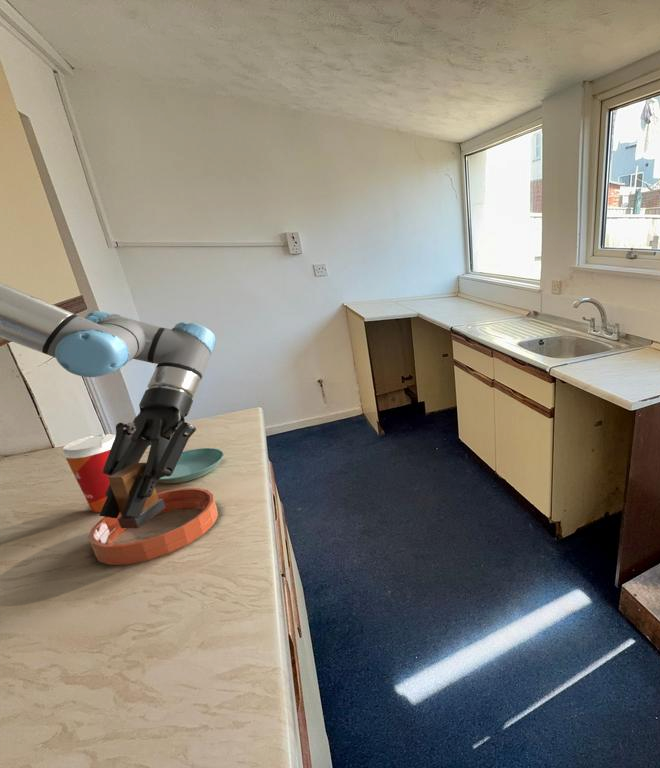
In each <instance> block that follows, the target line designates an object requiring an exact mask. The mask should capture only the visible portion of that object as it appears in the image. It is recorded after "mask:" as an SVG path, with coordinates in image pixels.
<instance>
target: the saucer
mask: <svg viewBox="0 0 660 768" xmlns="http://www.w3.org/2000/svg"><path fill="white" fill-rule="evenodd" d="M223 457H224V452H223V450H221V449H219V448H215V447H201V448H194V449H188V450H183V452H182V454H181V456H180V458H179V460H178V463H177V465H176V467H175V469H174V471H173V473H172V475H171V476H164V477H161V478H160V479H159V480H158V481H157V482H159V483H161V484H180V483H185V482H189V481H193V480H196V479H198V478H201V477H203V476H206V475H207V474H209V473H211V472H212V471H213V470H214V469H216V468H217V466H218V465H219V464H220V463H221V461H222V459H223Z"/></svg>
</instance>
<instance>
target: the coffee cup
mask: <svg viewBox="0 0 660 768" xmlns="http://www.w3.org/2000/svg"><path fill="white" fill-rule="evenodd" d="M115 436H116V434H112V433H107V434H96V435H94V436H93V435H90V436H86V437H82V438H81V437H80V438H78V439H76V440H73V441H70V442H69V443H66V444H64V446H63V448H62V451H63V452H62V453H61V457H62V458H64V459H65V460H66V461H67V464H68V466H69V468H70V470H71V472H72V474H73V476H74V478H75V480H76V482H77V484H78V486H79V488H80V490H81V492H82V493H83V496H84V498H85V500H86V502H87V503H88V506H89V507H90V509H91V511H92V512H94V513H101V510H102V508H103V506H104V504H105V501H106V499H107V496H106V492H107V489H108V488H109V485H110V482H109V479H108V477H109V475H107V474H104V473H103V469H104V466H105V463H106V461H107V458H108V455H109V453H110V450H111V447H112V444H113V442H114V439H115Z"/></svg>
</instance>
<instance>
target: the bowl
mask: <svg viewBox="0 0 660 768" xmlns="http://www.w3.org/2000/svg"><path fill="white" fill-rule="evenodd" d="M156 493H157V492H156ZM157 496H158V499H163V501H164V504H165V508H164V509H163V510H162V511H160V512H159V513H158V514H157V515H159V514H163V513H166V512H170V511H176V510H200V511H201V512H200V513H198V515H196V516H195V517H194V518H192V519H191V520H189V521H187V522H186V523H184V524H182V525H180V526H179V527H176V528H174V529H172V530H169V531H167V532H164V533H163V534H159V535H156V536H153V537H150V538H146V539H144V540H143V539H142V540H139V541H133V542H127V543H119V544H117V543H115V544H113V542H114V541H115V540H116V538H118V536H119V535H121V534H122V533H123V532H125V531H126V530H128V528H121V527H120V524H119V521H118V518H120V517H121V513H119V516H118V518H109V517H104V516H103V517H102V518H101V519H100V520H98V522H96V524H95V525H93V527H91V530H90V531H89V535H88V537H87V539H88V540H89V543H90V546H91V548H92V550H93V553H94V555H95V557H96V559H97V560H98V562H99V563H103V564H106V565H110V566H113V565H114V566H117V565H118V566H119V565H120V566H121V565H131V564H136V563H137V564H138V563H141V562H147V561H150V560H153V559H156V558H159V557H162V556H165V555H168V554H171V553H172V552H174V551H176V550H178V549H181V548H183V547H185V546H187V545H189V544H190V543H192V542H193V541H195V540H197V539H199V538H200V537H202V536H203V535H204V534H205V533H207V532H208V531H209V530H210V528H211V527H213V526H214V524H215V523H216V521H217V519H218V516H219V514H218V513H219V512H218V508H217V503H216V499H215V496H214V494H213V493H212V492H210V491H209V490H208V489H204V488H200V487H184V488H176V489H170V490H165V491H161V492H158V493H157Z"/></svg>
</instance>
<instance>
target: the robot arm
mask: <svg viewBox="0 0 660 768" xmlns="http://www.w3.org/2000/svg"><path fill="white" fill-rule="evenodd" d="M0 338H1V339H4V340H6V341H9V342H12V343H14V344H17V345H20V346H22V347H25V348H27V349H31V350H34V351H36V352H39V353H42V354H44V355H47V356H50V357H52V358H55V360H56V361H57V363H58V364H59V365H60V366H61V367H62V368H63V369H64V370H66V371H67V372H69V373H70V374H73V375H75V376H78V377H84V378H98V377H99V378H100V377H103V376H106V375H109V374H111V373H115V372H116V371H119V370H121V368H123V367H124V366H126V364H128V362H130V361H132V360H136V361H142V362H146V363H150V364H155V365H156V367H155V369H154V371H153V374H152V375H151V377H150V380H149V382H148V383H147V388H148V389H145V392H144V393H143V396H142V398H141V399H140V402H139V403H138V407H139V413H138V415H135V417H134V418H133V420H132V421H130V422H127V423H124V422H118V423H117V424H115V439H114V442H113V444H112V447H111V450H110V453H109V455H108V458H107V461H106V463H105V466H104V469H103V473H104V474H107V475H109V476H111V475H113V474H115V473H117V472H118V471H120V470H122V469H124V468H125V467H127V466H129V465H131V464H133V463H140V461H141V459H142V457H143V456H144V453H146V451H147V449H148V447H149V446H150V448H149V452H148V456H147V460H146V462H145V463H146V467H145V471H144V473H140V475H141V476H144V477H145V478H143V477H137V480H136V482H135V484H134V487H133V489H132V492H131V494H130V497H129V499H128V501H127V504H126V506H125V509H124V511H123V513H122V516H128V517H133V518H139V517H140V514H141V512H142V509H143V507H144V504H145V502H146V499H147V497H150V496H151V495H152V493H153V490H154V488H155V489H156V486H157V483H158V482H159V481H158V480H159V479H160V478H161V477H164V476H171V475H172V473H173V471H174V469H175V467H176V465H177V463H178V460H179V458H180V456H181V454H182V452H183V451H185V448H186V445H187V444H188V441H189V440H190V438H191V436H193V434H194V433H195V432H196V431H197V427H196V426H194V425H192V424H191V423H188V422H186V419H185V417H187V416H189V413H190V411H191V409H192V405H193V402H194V400H193V399H194V398H195V396H196V395H197V392H198V389H199V387H200V384H201V381H202V379H203V376H204V374H205V372H206V369H207V368H208V367H207V366H208V365H209V362H210V359H211V357H212V354H213V351H214V347H215V345H216V344H215V343H216V341H217V339H216V336H215V334H214V332H213V331H211V330H210V329H209V328H207V327H205V326H204V325H201V324H198V323H194V322H186V321H183V322H181V321H180V322H178V323H176V324H175V325H174V327H172V328H165V327H161V326H157V325H155V324H150V323H147V322H143V321H139V320H136V319H133V318H128V317H125V316H122V315H121V314H116V313H109V312H104V311H100V310H92V311H91V312H88V314H87V315H86V316H84V317H82V316H80V315H77V314H75V313H74V312H71V311H68V310H67V309H64V308H62V307H59V306H57V305H55V304H53V303H50V302H48V301H45V300H43V299H40V298H38V297H36V296H33V295H31V294H28V293H26V292H24V291H21V290H20V289H17V288H15V287H12V286H10V285H7V284H5V283H4V282H1V281H0ZM106 496H107V499H106V501H105V504H104V506H103V508H102V510H101V512H99V517H103V518H104V517H109V518H118V516H119V513H120V510H119V507H118V504H117V502H116V499H115V496H114V493H113V491H112V488H111V485H109V488H108V489H107V492H106Z"/></svg>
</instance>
